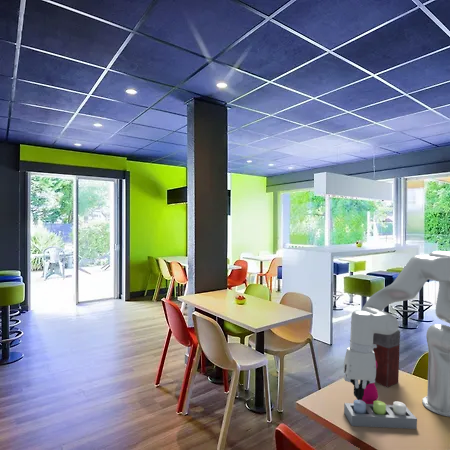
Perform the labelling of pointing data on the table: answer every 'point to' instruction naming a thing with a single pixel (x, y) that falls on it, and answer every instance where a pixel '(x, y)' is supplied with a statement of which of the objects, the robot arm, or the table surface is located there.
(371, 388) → the pepper mill
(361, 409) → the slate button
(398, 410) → the white rounded piece
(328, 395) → the table surface
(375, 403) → the lime button
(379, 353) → the brown salt grinder
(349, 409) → the panel
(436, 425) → the table surface
